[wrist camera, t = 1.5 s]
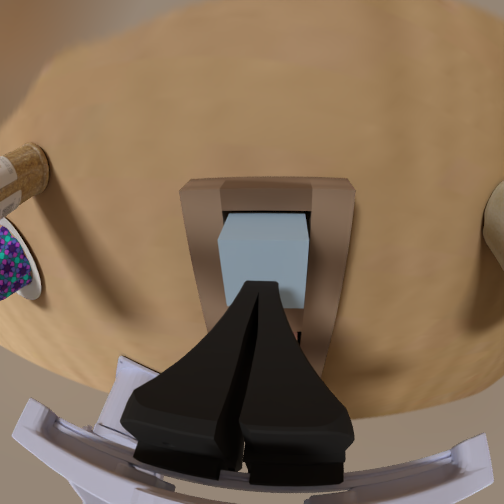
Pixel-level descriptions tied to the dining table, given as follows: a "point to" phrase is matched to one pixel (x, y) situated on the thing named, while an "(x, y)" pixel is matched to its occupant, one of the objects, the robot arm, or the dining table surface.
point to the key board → (319, 254)
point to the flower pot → (495, 223)
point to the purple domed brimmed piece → (16, 266)
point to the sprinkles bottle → (21, 176)
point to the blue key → (265, 253)
